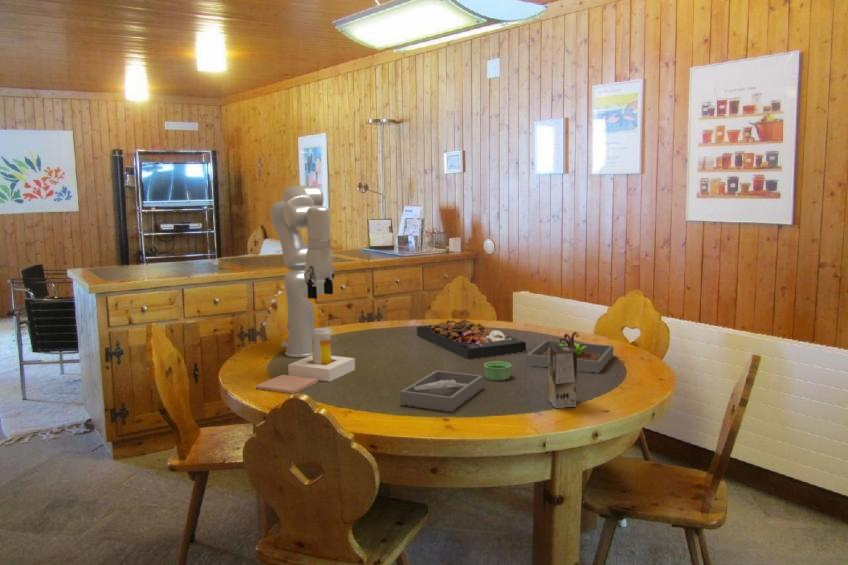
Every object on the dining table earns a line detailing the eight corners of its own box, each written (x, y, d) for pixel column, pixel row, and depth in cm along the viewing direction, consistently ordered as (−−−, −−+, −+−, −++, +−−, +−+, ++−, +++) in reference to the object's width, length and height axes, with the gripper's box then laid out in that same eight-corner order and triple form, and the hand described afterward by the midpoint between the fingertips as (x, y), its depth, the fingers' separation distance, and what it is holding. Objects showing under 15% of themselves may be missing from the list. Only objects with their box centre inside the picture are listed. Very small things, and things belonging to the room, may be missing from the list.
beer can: (334, 371, 241) (333, 328, 238) (326, 376, 235) (325, 331, 233) (318, 370, 243) (317, 327, 240) (310, 374, 237) (308, 330, 235)
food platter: (525, 353, 265) (526, 326, 264) (468, 361, 255) (468, 333, 254) (468, 331, 306) (468, 308, 304) (416, 337, 296) (416, 312, 294)
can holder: (288, 376, 235) (288, 364, 234) (315, 365, 249) (315, 353, 249) (329, 381, 228) (329, 369, 228) (354, 369, 242) (354, 358, 242)
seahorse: (457, 382, 222) (405, 383, 210) (481, 377, 213) (427, 378, 201) (459, 398, 220) (406, 401, 209) (483, 394, 212) (429, 396, 200)
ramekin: (478, 375, 234) (478, 363, 233) (502, 372, 237) (502, 360, 237) (491, 382, 225) (492, 369, 225) (516, 379, 229) (516, 366, 228)
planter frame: (526, 366, 245) (526, 354, 245) (545, 350, 268) (545, 340, 267) (599, 373, 235) (599, 361, 234) (613, 356, 257) (613, 345, 256)
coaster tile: (255, 388, 221) (255, 385, 221) (282, 377, 234) (282, 374, 233) (292, 394, 215) (292, 390, 215) (318, 382, 228) (318, 379, 227)
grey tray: (400, 404, 204) (400, 391, 203) (435, 382, 226) (435, 370, 225) (451, 412, 197) (451, 398, 196) (483, 388, 219) (483, 375, 219)
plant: (566, 372, 238) (567, 339, 237) (532, 359, 256) (532, 329, 254) (612, 364, 247) (613, 333, 246) (576, 353, 264) (576, 323, 263)
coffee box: (577, 408, 199) (578, 352, 197) (554, 409, 199) (555, 353, 196) (567, 398, 208) (568, 345, 206) (546, 399, 208) (547, 345, 205)
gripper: (323, 242, 242) (325, 291, 244) (294, 246, 226) (296, 299, 229) (342, 242, 239) (343, 292, 241) (314, 247, 223) (315, 300, 226)
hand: (320, 296), depth 235 cm, fingers open, 9 cm apart
